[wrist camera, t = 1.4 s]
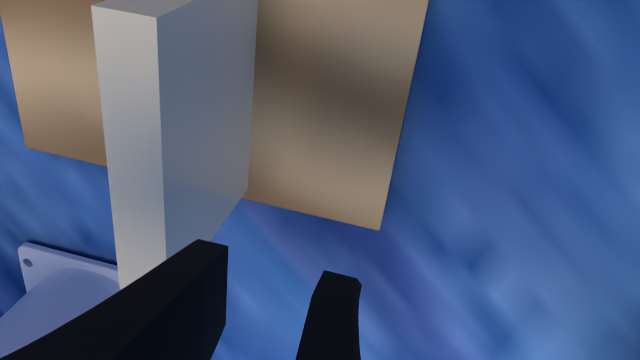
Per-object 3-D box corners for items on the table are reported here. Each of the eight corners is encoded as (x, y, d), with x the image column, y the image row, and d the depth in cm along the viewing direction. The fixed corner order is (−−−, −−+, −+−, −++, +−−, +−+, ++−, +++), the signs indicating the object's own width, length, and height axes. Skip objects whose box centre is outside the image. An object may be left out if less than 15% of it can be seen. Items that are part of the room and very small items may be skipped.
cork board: (383, 216, 21) (379, 230, 20) (41, 137, 23) (25, 147, 22) (458, -137, 15) (457, -138, 14) (-15, -200, 17) (-40, -203, 16)
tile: (248, 188, 21) (168, 301, 15) (208, 179, 21) (116, 287, 16) (259, -30, 17) (156, 17, 11) (210, -38, 17) (86, 4, 11)
